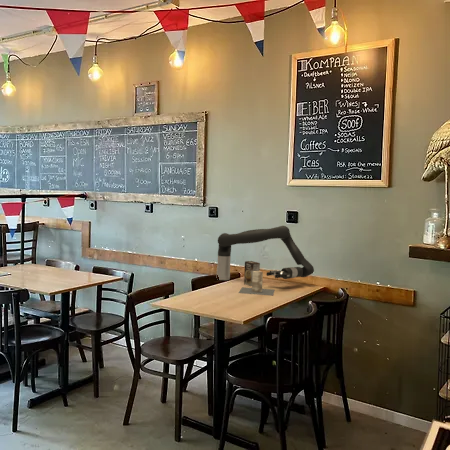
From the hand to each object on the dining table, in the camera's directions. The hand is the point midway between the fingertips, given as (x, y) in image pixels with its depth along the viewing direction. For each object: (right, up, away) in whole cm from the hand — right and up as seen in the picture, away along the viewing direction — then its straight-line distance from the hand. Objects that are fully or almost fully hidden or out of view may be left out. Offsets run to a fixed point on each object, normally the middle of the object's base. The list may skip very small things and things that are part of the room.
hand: (271, 275), depth 311 cm
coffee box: (-12, -9, +14) cm, 21 cm away
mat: (-10, -10, -5) cm, 15 cm away
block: (-10, -10, -5) cm, 15 cm away
